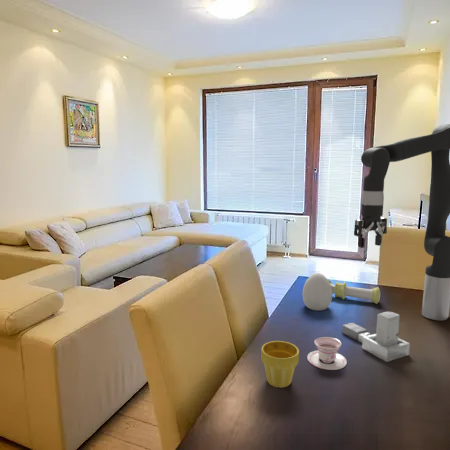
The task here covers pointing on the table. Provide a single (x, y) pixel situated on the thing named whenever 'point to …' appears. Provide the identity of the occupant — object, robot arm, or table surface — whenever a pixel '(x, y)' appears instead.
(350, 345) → the table surface
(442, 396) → the table surface
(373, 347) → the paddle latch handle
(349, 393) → the table surface
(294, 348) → the plant pot
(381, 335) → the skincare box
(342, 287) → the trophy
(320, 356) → the teacup
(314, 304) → the decorative egg
